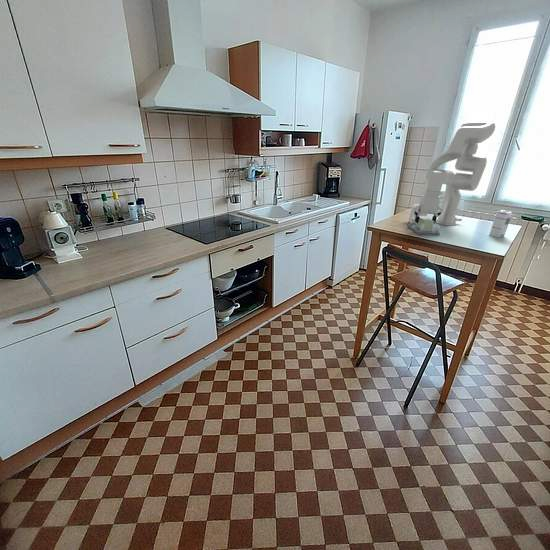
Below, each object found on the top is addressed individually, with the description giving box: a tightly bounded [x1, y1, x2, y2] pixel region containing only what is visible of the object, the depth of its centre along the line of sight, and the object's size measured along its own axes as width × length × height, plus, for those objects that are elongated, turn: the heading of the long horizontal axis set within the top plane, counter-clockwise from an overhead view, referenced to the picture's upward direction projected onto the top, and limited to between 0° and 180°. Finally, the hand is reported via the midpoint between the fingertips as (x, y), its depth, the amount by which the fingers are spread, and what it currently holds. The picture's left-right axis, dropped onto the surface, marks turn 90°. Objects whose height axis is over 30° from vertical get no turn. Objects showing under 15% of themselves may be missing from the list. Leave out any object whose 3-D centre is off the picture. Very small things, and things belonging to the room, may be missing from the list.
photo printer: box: [408, 203, 428, 224], centre depth 190 cm, size 10×4×12 cm, turn 39°
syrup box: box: [489, 209, 513, 238], centre depth 169 cm, size 6×6×14 cm
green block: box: [415, 216, 435, 231], centre depth 175 cm, size 5×11×6 cm, turn 178°
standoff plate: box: [407, 217, 441, 236], centre depth 176 cm, size 12×17×6 cm
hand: (424, 223), depth 175 cm, fingers open, 9 cm apart
